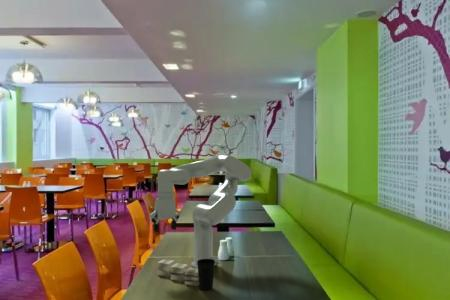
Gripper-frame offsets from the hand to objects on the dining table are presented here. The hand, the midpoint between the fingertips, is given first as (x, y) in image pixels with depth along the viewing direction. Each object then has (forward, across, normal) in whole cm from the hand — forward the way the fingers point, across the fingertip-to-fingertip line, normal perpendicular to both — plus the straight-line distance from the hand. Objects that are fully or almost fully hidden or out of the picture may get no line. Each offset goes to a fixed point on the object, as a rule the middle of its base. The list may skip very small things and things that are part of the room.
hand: (165, 230), depth 205 cm
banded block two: (+21, -3, +20) cm, 29 cm away
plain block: (+21, 0, +1) cm, 21 cm away
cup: (+21, -3, +30) cm, 36 cm away
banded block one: (+21, -2, +10) cm, 23 cm away
